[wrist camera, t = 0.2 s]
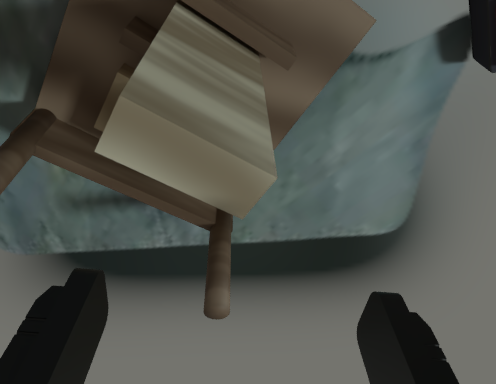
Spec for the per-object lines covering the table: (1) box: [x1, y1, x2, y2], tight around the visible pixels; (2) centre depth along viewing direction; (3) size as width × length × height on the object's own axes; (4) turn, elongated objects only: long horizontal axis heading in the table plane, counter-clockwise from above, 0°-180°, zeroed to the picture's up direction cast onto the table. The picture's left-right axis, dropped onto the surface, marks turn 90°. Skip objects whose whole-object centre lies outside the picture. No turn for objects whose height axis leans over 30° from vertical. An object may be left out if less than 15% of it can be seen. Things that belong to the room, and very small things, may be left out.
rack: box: [0, 0, 376, 319], centre depth 23 cm, size 20×18×14 cm
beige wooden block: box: [94, 0, 277, 219], centre depth 19 cm, size 2×6×16 cm, turn 57°
